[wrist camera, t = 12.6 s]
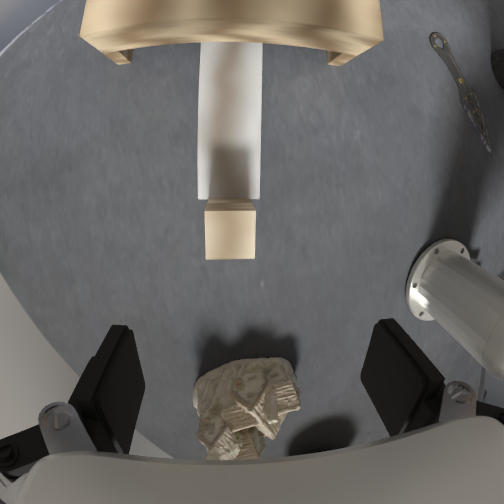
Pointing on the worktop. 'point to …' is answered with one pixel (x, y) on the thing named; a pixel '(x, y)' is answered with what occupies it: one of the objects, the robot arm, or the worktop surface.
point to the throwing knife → (463, 89)
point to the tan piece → (229, 145)
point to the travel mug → (498, 66)
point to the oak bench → (233, 24)
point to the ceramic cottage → (244, 406)
